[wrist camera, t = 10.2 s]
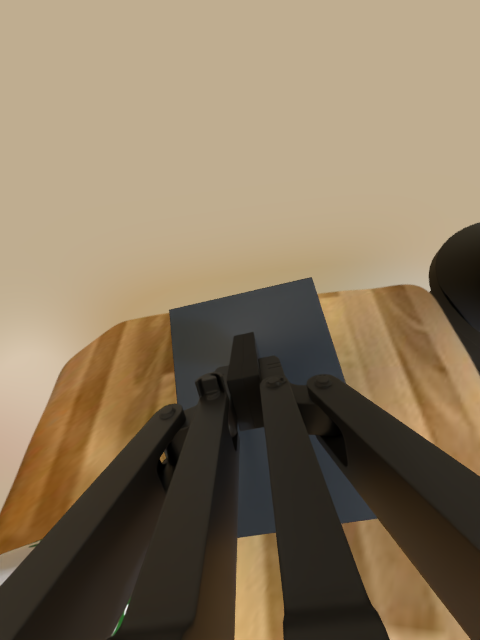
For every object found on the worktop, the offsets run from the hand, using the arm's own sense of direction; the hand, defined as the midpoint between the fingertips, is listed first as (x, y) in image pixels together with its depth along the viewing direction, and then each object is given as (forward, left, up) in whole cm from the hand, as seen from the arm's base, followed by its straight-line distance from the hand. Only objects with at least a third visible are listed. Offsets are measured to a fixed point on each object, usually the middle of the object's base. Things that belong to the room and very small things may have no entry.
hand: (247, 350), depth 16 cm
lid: (0, +3, -3) cm, 4 cm away
